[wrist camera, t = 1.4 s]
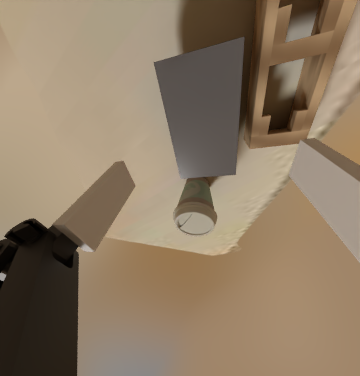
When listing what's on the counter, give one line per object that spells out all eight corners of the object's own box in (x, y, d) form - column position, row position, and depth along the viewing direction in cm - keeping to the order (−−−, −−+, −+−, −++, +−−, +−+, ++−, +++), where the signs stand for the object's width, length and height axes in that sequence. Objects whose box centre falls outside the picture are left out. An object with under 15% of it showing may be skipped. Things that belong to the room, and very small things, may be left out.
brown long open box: (265, -103, 13) (287, -167, 9) (375, -156, 11) (452, -259, 8) (243, 139, 26) (249, 149, 23) (291, 132, 25) (305, 142, 21)
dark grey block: (169, 65, 21) (153, 62, 15) (231, 48, 19) (244, 36, 13) (186, 155, 30) (180, 178, 24) (228, 151, 28) (235, 174, 22)
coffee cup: (204, 165, 31) (204, 204, 22) (220, 191, 35) (225, 233, 26) (173, 179, 35) (162, 217, 26) (191, 201, 39) (186, 241, 30)
